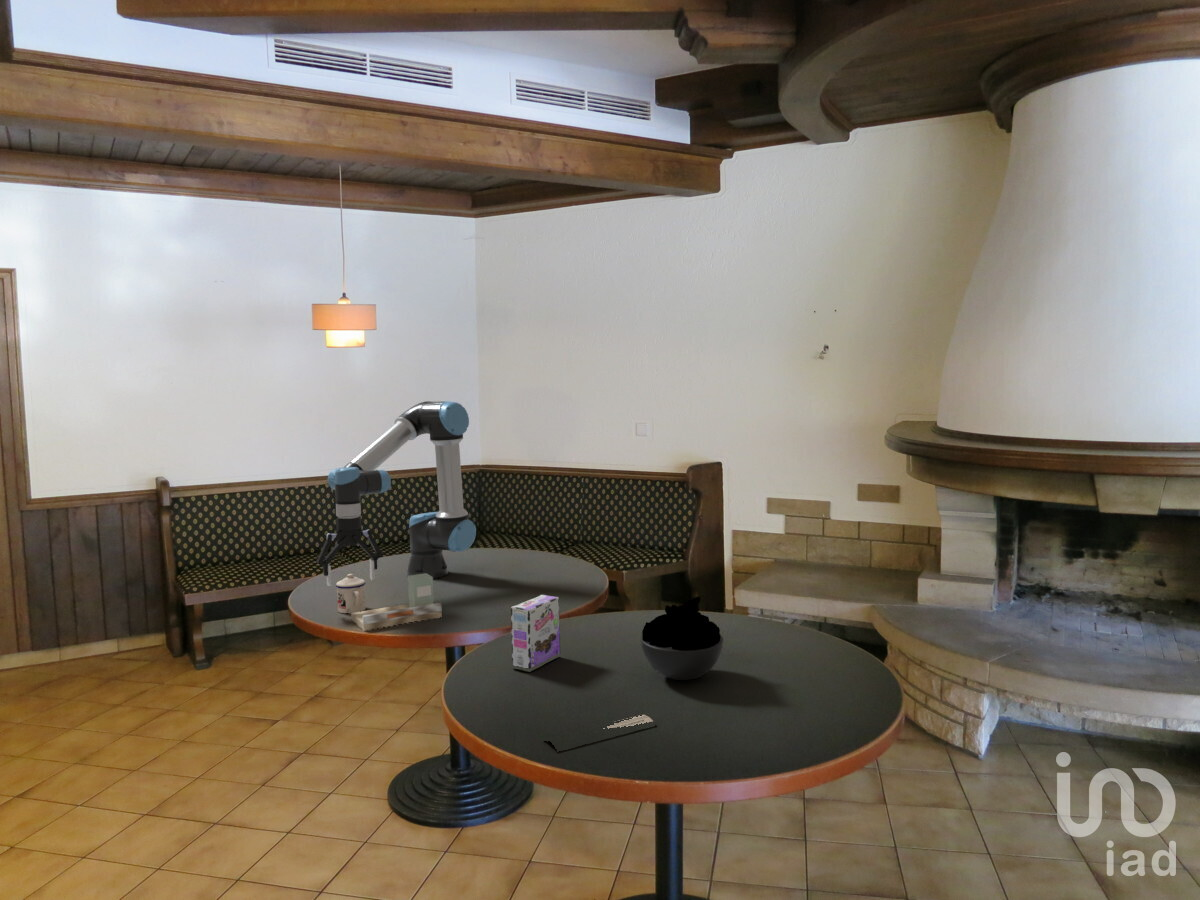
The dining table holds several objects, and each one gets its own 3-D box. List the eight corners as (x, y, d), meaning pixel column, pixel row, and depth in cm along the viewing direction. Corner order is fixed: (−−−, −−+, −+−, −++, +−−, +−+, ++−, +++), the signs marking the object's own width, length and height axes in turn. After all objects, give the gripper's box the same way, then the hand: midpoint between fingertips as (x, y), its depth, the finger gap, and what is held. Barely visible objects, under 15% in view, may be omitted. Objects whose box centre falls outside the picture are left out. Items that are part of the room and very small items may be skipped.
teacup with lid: (333, 609, 272) (331, 573, 271) (361, 604, 277) (359, 569, 275) (344, 618, 262) (342, 581, 261) (373, 612, 267) (371, 576, 265)
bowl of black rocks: (665, 699, 193) (664, 618, 191) (627, 671, 211) (626, 597, 210) (739, 684, 201) (739, 607, 199) (697, 658, 219) (696, 587, 217)
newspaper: (556, 756, 167) (556, 747, 167) (541, 743, 173) (540, 734, 173) (656, 729, 179) (656, 721, 178) (638, 718, 185) (638, 710, 185)
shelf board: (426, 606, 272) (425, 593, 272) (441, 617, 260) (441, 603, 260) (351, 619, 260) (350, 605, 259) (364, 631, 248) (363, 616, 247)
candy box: (530, 673, 211) (528, 609, 209) (511, 669, 214) (509, 606, 212) (561, 657, 222) (560, 596, 221) (543, 653, 226) (541, 593, 224)
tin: (427, 604, 268) (426, 573, 267) (434, 608, 263) (432, 577, 262) (409, 607, 265) (407, 575, 264) (415, 611, 260) (414, 579, 259)
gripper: (384, 511, 276) (386, 575, 278) (305, 518, 263) (307, 585, 265) (391, 514, 269) (393, 579, 271) (310, 521, 257) (313, 590, 258)
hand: (351, 582), depth 268 cm, fingers open, 13 cm apart
